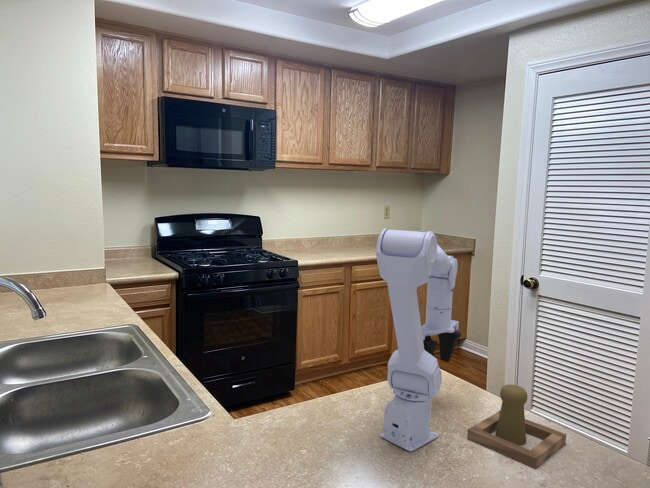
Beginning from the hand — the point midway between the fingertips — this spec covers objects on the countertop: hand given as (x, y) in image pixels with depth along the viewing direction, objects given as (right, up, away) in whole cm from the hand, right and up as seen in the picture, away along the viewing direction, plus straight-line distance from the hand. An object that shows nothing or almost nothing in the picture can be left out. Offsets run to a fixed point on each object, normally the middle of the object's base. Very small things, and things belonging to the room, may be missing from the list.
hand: (435, 364), depth 111 cm
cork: (+13, -12, -12) cm, 21 cm away
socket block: (+13, -12, -14) cm, 23 cm away
